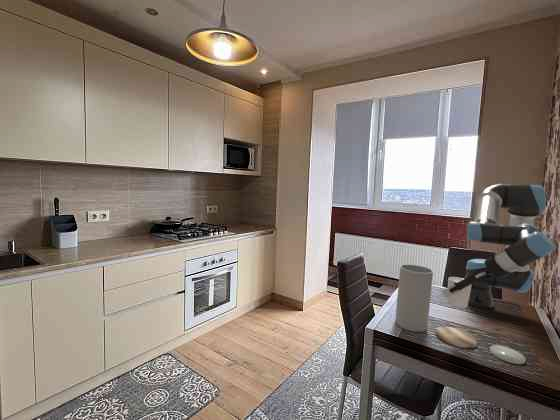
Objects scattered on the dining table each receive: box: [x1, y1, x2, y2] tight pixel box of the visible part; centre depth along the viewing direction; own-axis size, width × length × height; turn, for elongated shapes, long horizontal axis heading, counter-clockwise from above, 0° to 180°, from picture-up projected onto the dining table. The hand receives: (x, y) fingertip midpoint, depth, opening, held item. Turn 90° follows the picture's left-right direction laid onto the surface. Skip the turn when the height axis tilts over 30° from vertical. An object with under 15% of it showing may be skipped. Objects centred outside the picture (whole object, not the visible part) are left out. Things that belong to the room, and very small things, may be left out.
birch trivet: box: [435, 326, 478, 349], centre depth 113 cm, size 14×14×1 cm
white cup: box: [447, 276, 472, 309], centre depth 112 cm, size 8×8×10 cm
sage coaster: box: [489, 344, 526, 365], centre depth 103 cm, size 10×10×1 cm
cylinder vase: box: [394, 263, 434, 333], centre depth 121 cm, size 12×12×25 cm
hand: (449, 292), depth 115 cm, fingers closed on white cup, 8 cm apart
